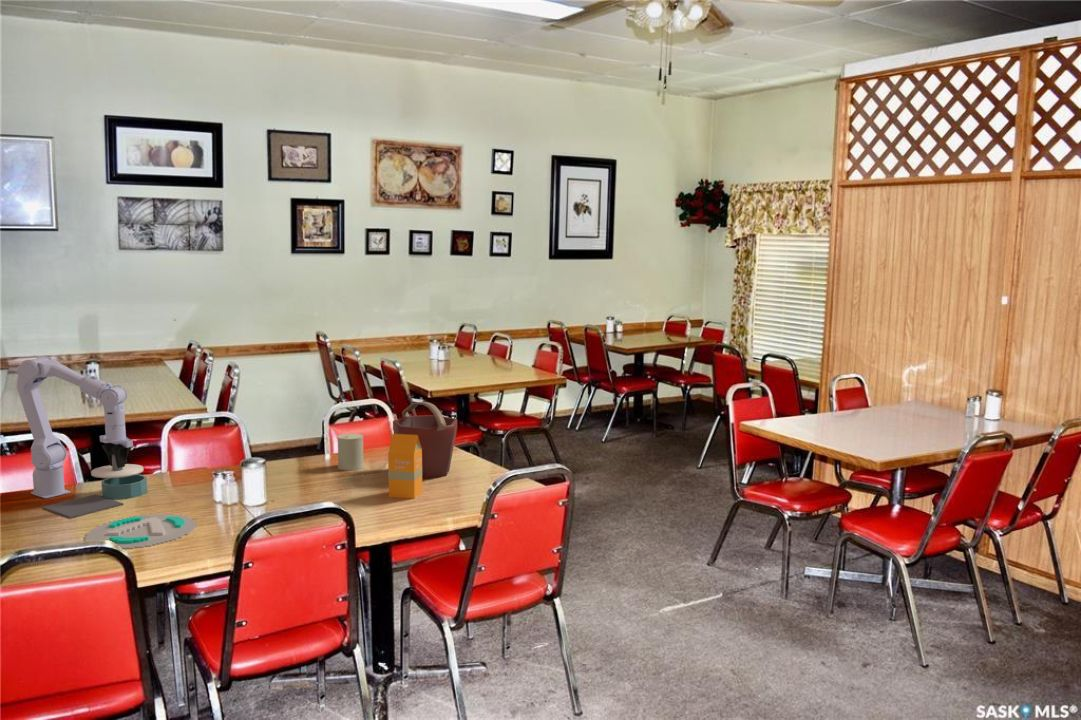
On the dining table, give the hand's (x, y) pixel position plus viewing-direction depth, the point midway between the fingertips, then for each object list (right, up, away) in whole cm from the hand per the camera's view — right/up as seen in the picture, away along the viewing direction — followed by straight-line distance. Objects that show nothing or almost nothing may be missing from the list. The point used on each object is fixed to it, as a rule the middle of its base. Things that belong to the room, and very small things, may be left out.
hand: (117, 466), depth 273 cm
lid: (0, -2, 0) cm, 2 cm away
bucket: (+95, -6, +31) cm, 100 cm away
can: (+66, -5, +37) cm, 76 cm away
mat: (-5, -11, -11) cm, 16 cm away
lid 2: (+22, -15, -31) cm, 41 cm away
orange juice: (+91, -10, +5) cm, 92 cm away
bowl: (+1, -9, +3) cm, 10 cm away
